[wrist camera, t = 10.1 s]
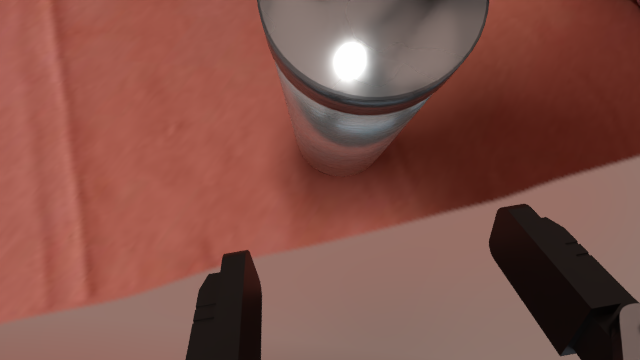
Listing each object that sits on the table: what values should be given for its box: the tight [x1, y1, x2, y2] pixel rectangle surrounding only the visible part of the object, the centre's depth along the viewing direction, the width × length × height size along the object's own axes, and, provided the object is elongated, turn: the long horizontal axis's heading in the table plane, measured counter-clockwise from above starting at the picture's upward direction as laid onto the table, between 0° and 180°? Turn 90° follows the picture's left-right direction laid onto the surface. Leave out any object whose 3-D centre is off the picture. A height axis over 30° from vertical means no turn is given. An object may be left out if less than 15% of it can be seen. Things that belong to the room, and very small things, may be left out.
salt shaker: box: [257, 0, 489, 176], centre depth 13 cm, size 5×5×11 cm
